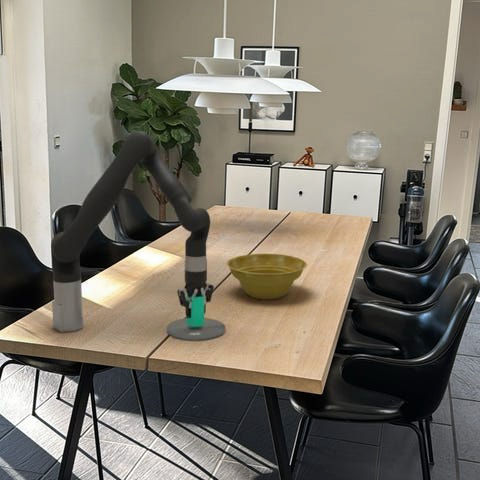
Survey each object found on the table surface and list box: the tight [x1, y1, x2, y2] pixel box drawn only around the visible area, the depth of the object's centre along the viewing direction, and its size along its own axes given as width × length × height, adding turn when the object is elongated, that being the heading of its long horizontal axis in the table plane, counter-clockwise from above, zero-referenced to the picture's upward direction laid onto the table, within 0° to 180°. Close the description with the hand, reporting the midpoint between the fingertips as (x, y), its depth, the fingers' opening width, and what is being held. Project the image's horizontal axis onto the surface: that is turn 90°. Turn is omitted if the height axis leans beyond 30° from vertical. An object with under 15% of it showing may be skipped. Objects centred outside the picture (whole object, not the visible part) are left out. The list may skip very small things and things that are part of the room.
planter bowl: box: [226, 253, 308, 300], centre depth 271 cm, size 32×32×13 cm
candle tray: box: [166, 317, 226, 342], centre depth 230 cm, size 20×20×1 cm
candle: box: [186, 294, 205, 327], centre depth 229 cm, size 6×6×12 cm
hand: (195, 315), depth 230 cm, fingers closed on candle, 4 cm apart
